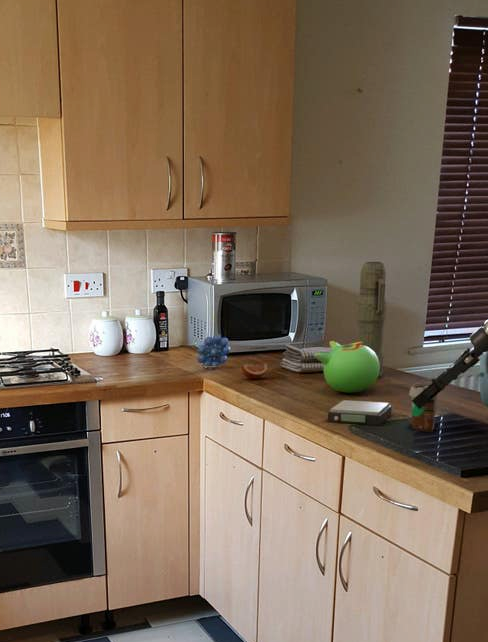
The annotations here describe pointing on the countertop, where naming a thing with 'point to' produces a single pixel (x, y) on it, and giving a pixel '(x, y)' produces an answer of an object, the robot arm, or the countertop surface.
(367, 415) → the kitchen scale
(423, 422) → the food container
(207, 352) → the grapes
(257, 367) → the fruit slice
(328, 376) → the toy bird
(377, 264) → the thermos
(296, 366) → the towel
